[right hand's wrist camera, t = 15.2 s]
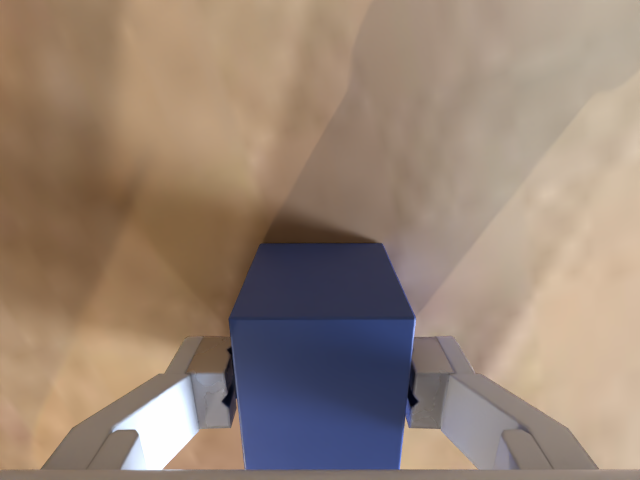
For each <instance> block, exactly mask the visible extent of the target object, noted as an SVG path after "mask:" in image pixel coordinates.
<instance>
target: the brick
mask: <svg viewBox="0 0 640 480" xmlns="http://www.w3.org/2000/svg"><path fill="white" fill-rule="evenodd" d="M415 322H416V317H415V315H414V313H413V311H412V308H411V306H410V304H409V302H408V299H407V297H406V295H405V293H404V290H403V288H402V286H401V284H400V282H399V279H398V277H397V275H396V273H395V270H394V268H393V266H392V264H391V261H390V259H389V257H388V255H387V252H386V250H385V248H384V246H383V244H382V243H274V244H260V245H259V248H258V250H257V252H256V255H255V257H254V260H253V262H252V264H251V267H250V269H249V271H248V274H247V276H246V279H245V281H244V283H243V286H242V288H241V290H240V293H239V295H238V298H237V300H236V302H235V305H234V307H233V309H232V312H231V314H230V317H229V328H230V337H231V346H232V356H233V365H234V374H235V384H236V393H237V402H238V412H239V421H240V430H241V440H242V449H243V458H244V467H245V470H348V469H383V470H400V461H401V452H402V443H403V433H404V424H405V415H406V406H407V396H408V387H409V378H410V369H411V359H412V350H413V341H414V332H415Z"/></svg>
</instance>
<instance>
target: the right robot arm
mask: <svg viewBox="0 0 640 480" xmlns="http://www.w3.org/2000/svg"><path fill="white" fill-rule="evenodd" d="M236 398H237V393H236V384H235V374H234V365H233V356H232V346H231V337H219V336H205V337H204V336H188V337H186V338H185V339H184V341H183V342H182V344H181V346H180V348H179V349H178V351H177V353H176V354H175V356H174V358H173V360H172V361H171V363H170V365H169V366H168V368H167V370H166V372H165V373H164V374H158V375H156V376H155V377H153V378H151V379H150V380H148V381H147V382H145V383H143V384H142V385H140V386H139V387H137V388H135V389H134V390H132V391H131V392H129V393H127V394H126V395H124V396H123V397H121V398H119V399H118V400H116V401H115V402H113V403H111V404H110V405H108V406H107V407H105V408H103V409H102V410H100V411H99V412H97V413H95V414H94V415H92V416H91V417H89V418H87V419H86V420H84V421H83V422H81V423H79V424H78V425H76V426H75V427H73V428H72V429H71V430H70V432H69V433H68V434H67V435H66V437H65V438H64V439H63V441H62V442H61V443H60V445H59V446H58V447H57V448H56V450H55V451H54V452H53V454H52V455H51V456H50V458H49V459H48V460H47V461H46V463H45V464H44V465H43V467H42V468H41V469H40V470H0V480H640V469H599V468H598V467H597V465H596V464H595V463H594V462H593V460H592V459H591V458H590V456H589V455H588V454H587V452H586V451H585V450H584V448H583V447H582V446H581V444H580V443H579V442H578V441H577V439H576V438H575V437H574V435H573V434H572V433H571V431H570V430H569V429H568V428H567V427H565V426H564V425H562V424H560V423H559V422H557V421H556V420H554V419H552V418H551V417H549V416H548V415H546V414H544V413H543V412H541V411H540V410H538V409H536V408H535V407H533V406H532V405H530V404H528V403H527V402H525V401H524V400H522V399H520V398H519V397H517V396H516V395H514V394H512V393H511V392H509V391H508V390H506V389H504V388H503V387H501V386H500V385H498V384H496V383H495V382H493V381H492V380H490V379H488V378H487V377H485V376H484V375H482V374H476V373H475V372H474V370H473V368H472V367H471V365H470V363H469V362H468V360H467V358H466V356H465V355H464V353H463V351H462V350H461V348H460V346H459V345H458V343H457V341H456V339H455V338H454V337H453V336H435V337H414V341H413V350H412V359H411V369H410V378H409V387H408V396H407V406H406V419H407V422H408V426H409V428H431V429H441V431H442V432H443V433H444V434H445V435H446V436H447V437H448V438H449V439H450V440H451V441H452V442H453V444H454V445H455V446H456V447H457V448H458V449H459V450H460V451H461V452H462V453H463V454H464V455H465V456H466V457H467V458H468V459H469V460H470V461H471V462H472V463H473V464H474V465H475V466H476V467H477V468H478V469H479V470H383V469H348V470H161V469H162V468H163V467H164V466H165V465H166V464H167V463H168V462H169V461H170V460H171V459H172V458H173V457H174V456H175V455H176V454H177V453H178V452H179V451H180V450H181V449H182V448H183V447H184V446H185V445H186V444H187V443H188V442H189V441H190V440H191V439H192V437H193V436H194V435H195V434H196V433H197V432H198V431H199V429H209V428H231V426H232V422H233V419H234V415H235V412H236Z"/></svg>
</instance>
